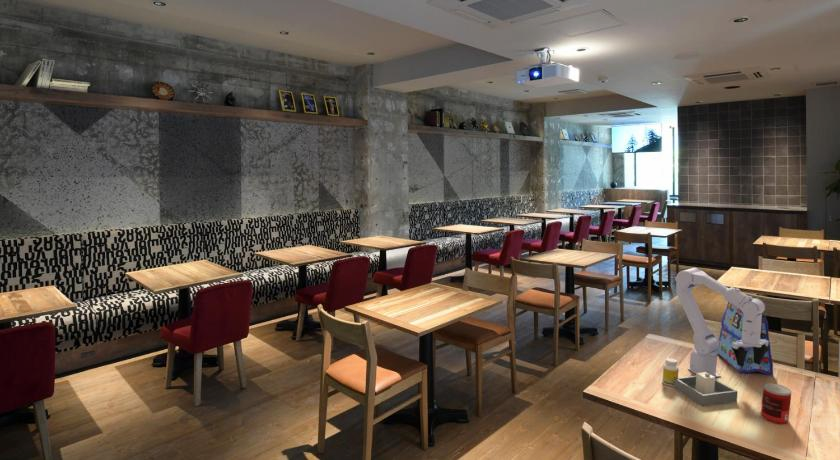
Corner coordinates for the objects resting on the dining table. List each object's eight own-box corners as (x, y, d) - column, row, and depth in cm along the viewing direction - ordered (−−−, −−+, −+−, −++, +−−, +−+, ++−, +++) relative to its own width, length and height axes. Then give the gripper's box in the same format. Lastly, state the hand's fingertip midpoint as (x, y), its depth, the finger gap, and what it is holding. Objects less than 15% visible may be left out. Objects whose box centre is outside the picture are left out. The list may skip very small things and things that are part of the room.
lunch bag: (715, 353, 221) (719, 292, 217) (747, 354, 219) (752, 292, 215) (739, 374, 200) (744, 306, 196) (775, 375, 198) (781, 307, 194)
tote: (673, 387, 189) (674, 378, 188) (705, 383, 192) (706, 374, 191) (702, 406, 175) (703, 395, 174) (736, 401, 177) (737, 391, 177)
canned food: (783, 414, 168) (786, 384, 167) (792, 426, 161) (795, 395, 159) (757, 411, 171) (760, 381, 169) (765, 422, 163) (768, 392, 162)
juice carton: (695, 390, 185) (696, 371, 184) (704, 389, 186) (705, 370, 184) (704, 396, 180) (705, 376, 179) (713, 394, 181) (715, 375, 180)
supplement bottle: (679, 387, 189) (680, 363, 188) (664, 386, 190) (665, 362, 189) (675, 380, 195) (676, 357, 193) (660, 379, 196) (661, 356, 194)
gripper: (744, 336, 179) (741, 370, 181) (776, 332, 182) (773, 366, 184) (728, 329, 186) (726, 363, 188) (760, 326, 189) (757, 359, 191)
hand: (748, 364), depth 187 cm, fingers open, 7 cm apart
